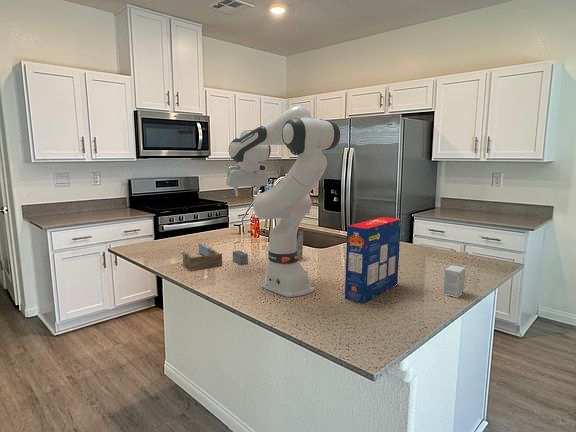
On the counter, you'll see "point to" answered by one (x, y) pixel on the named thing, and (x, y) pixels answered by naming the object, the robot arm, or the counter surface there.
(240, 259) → the dark gray rectangular block
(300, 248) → the coffee box
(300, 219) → the robot arm
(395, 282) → the blue red retail box
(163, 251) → the counter surface
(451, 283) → the small box
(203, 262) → the wooden u-shaped block
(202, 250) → the rounded end plank
